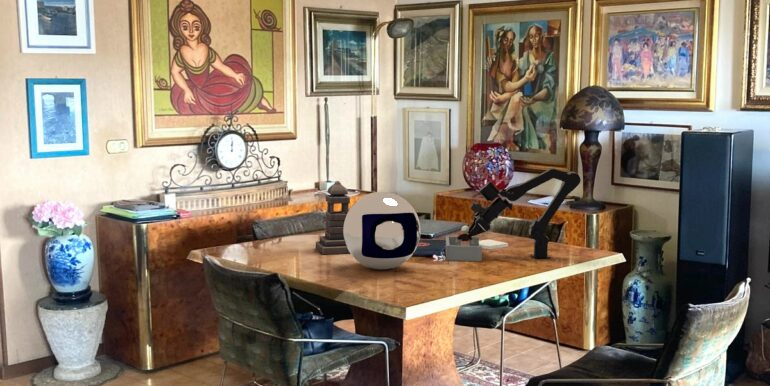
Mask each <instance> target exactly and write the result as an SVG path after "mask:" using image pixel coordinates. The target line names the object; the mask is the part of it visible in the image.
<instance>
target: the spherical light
mask: <svg viewBox="0 0 770 386" xmlns="http://www.w3.org/2000/svg"><path fill="white" fill-rule="evenodd" d="M421 230H422V229H421V223H420V219H419V216H418V214H417V212H416V210H415V209H414V207H413V206H412V204H410V202H409V201H407V200H406V199H405V198H404V197H402V196H401V195H398V194H396V193H393V192H388V191H376V192H371V193H368V194H366V195H363V196H361V198H358V199H357V200H356V202H354V203H353V204H352V206H350V208H349V211H348V213H347V215H346V218H345V221H344V226H343V235H344V241H345V244H346V246H347V249H348V250H349V252H350V253H351V254H350V255H351V256H352V257H353V258H354V259H355V261H357V262H358V263H359V264H361V265H362V266H365V267H367V268H370V269H373V270H380V271H381V270H382V271H385V270H390V269H394V268H397V267H399V266H401V265H402V264H404V263H406V262H407V261H408V260H409V259H410V258H411V257H412V256H413V255H414V253H415V251H416V250H417V248H418V246H419V243H420V239H421Z"/></svg>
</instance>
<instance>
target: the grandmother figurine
mask: <svg viewBox="0 0 770 386" xmlns="http://www.w3.org/2000/svg"><path fill="white" fill-rule="evenodd" d="M469 227H470V226H468V225H463V226H461V228H460V231H461V232H462V233H461V234H459V235H458V237H457V239H456V243H457V242H458V241H459V240H461V246H470V244H469V240H470V241H471V243H472V244H474V242H473V239H472V237H473V236H472V237H470V238H469V237H468V236H467V235H468V231H469Z"/></svg>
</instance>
